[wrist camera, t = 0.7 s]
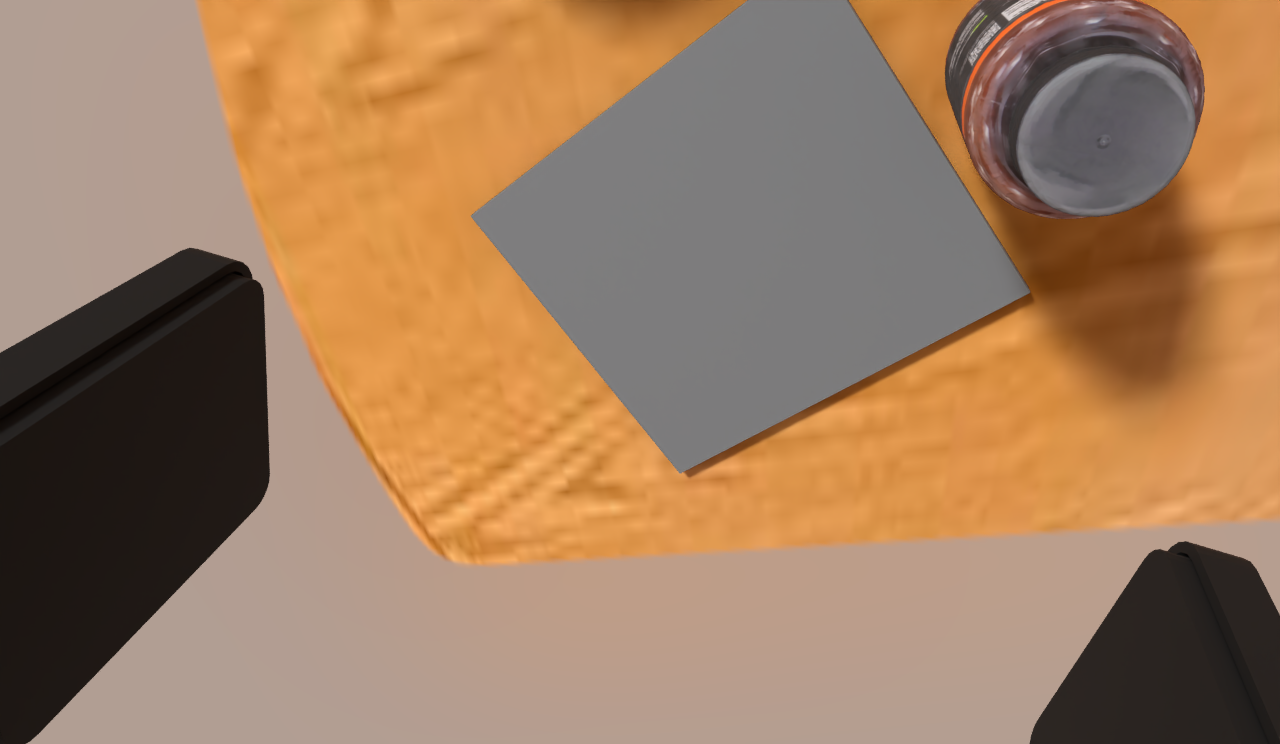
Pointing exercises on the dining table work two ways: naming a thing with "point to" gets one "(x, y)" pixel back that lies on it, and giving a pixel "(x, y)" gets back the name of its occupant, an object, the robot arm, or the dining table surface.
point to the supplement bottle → (1074, 102)
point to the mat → (752, 229)
